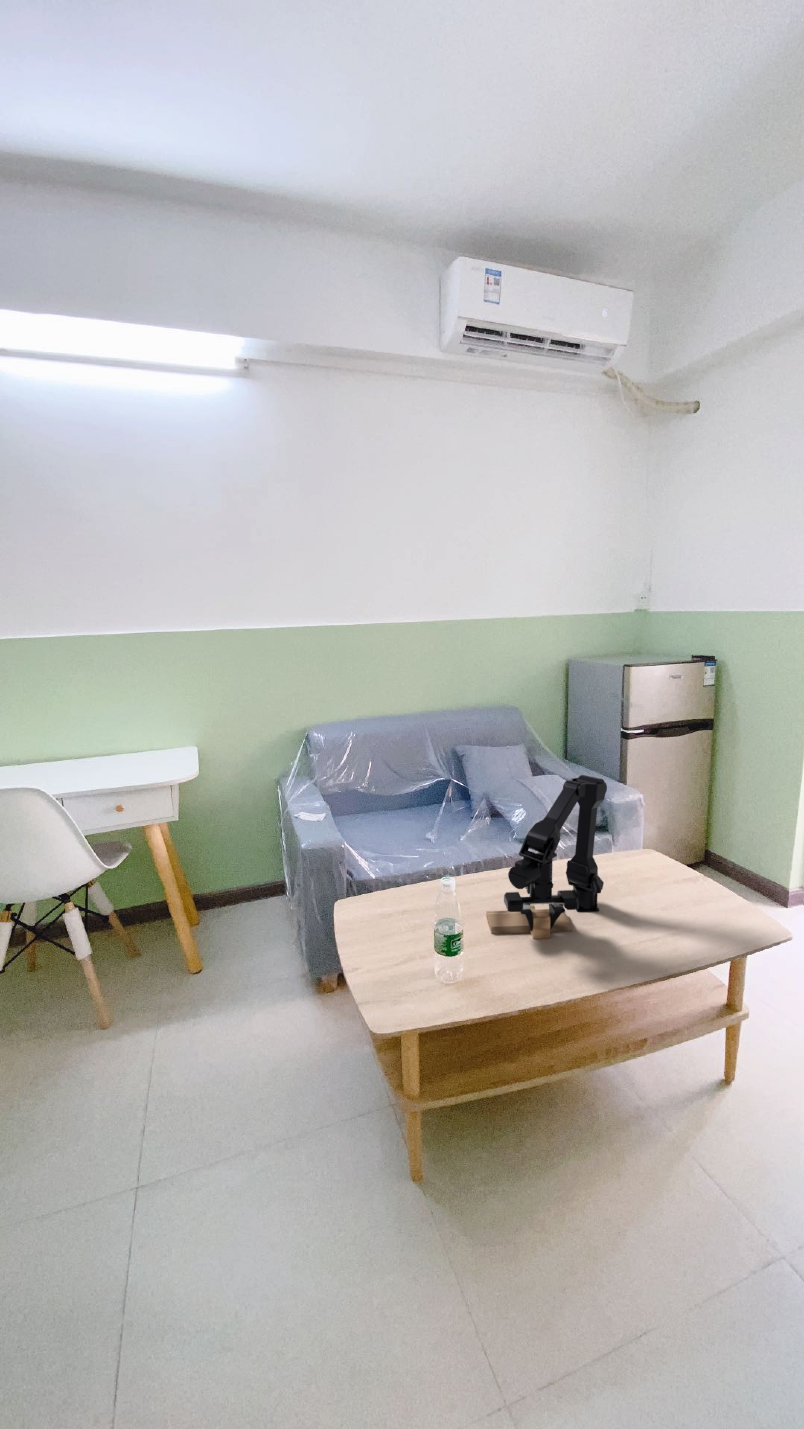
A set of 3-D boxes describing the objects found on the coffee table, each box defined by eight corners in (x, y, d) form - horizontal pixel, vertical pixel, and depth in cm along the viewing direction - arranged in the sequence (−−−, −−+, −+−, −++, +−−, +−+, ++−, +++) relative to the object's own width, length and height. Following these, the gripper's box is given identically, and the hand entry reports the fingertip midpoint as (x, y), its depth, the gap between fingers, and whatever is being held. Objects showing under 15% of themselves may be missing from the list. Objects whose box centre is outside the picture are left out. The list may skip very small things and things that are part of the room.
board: (562, 915, 156) (562, 908, 155) (571, 930, 148) (571, 923, 148) (486, 917, 156) (486, 911, 155) (491, 933, 148) (491, 926, 147)
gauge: (539, 916, 155) (539, 897, 154) (550, 938, 145) (550, 917, 144) (523, 917, 155) (523, 898, 154) (533, 938, 145) (533, 918, 144)
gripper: (566, 861, 151) (565, 913, 154) (499, 863, 151) (499, 915, 154) (580, 880, 140) (578, 935, 143) (508, 882, 140) (508, 937, 143)
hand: (540, 930), depth 146 cm, fingers closed on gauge, 4 cm apart
